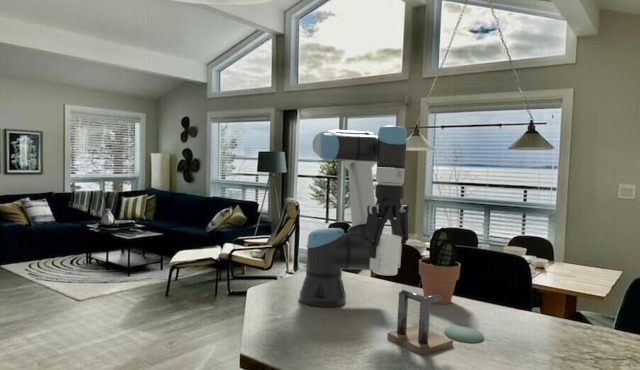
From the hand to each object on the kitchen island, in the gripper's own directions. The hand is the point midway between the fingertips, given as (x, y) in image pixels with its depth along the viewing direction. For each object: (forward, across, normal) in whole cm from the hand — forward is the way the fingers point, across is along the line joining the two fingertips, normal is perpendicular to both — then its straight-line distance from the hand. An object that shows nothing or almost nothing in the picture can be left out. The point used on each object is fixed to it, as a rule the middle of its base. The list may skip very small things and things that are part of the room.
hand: (385, 268), depth 118 cm
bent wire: (+15, +2, -11) cm, 19 cm away
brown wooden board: (+17, +2, -11) cm, 20 cm away
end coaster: (+17, +17, -14) cm, 28 cm away
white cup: (+1, 0, 0) cm, 1 cm away
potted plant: (+17, +37, +10) cm, 42 cm away
